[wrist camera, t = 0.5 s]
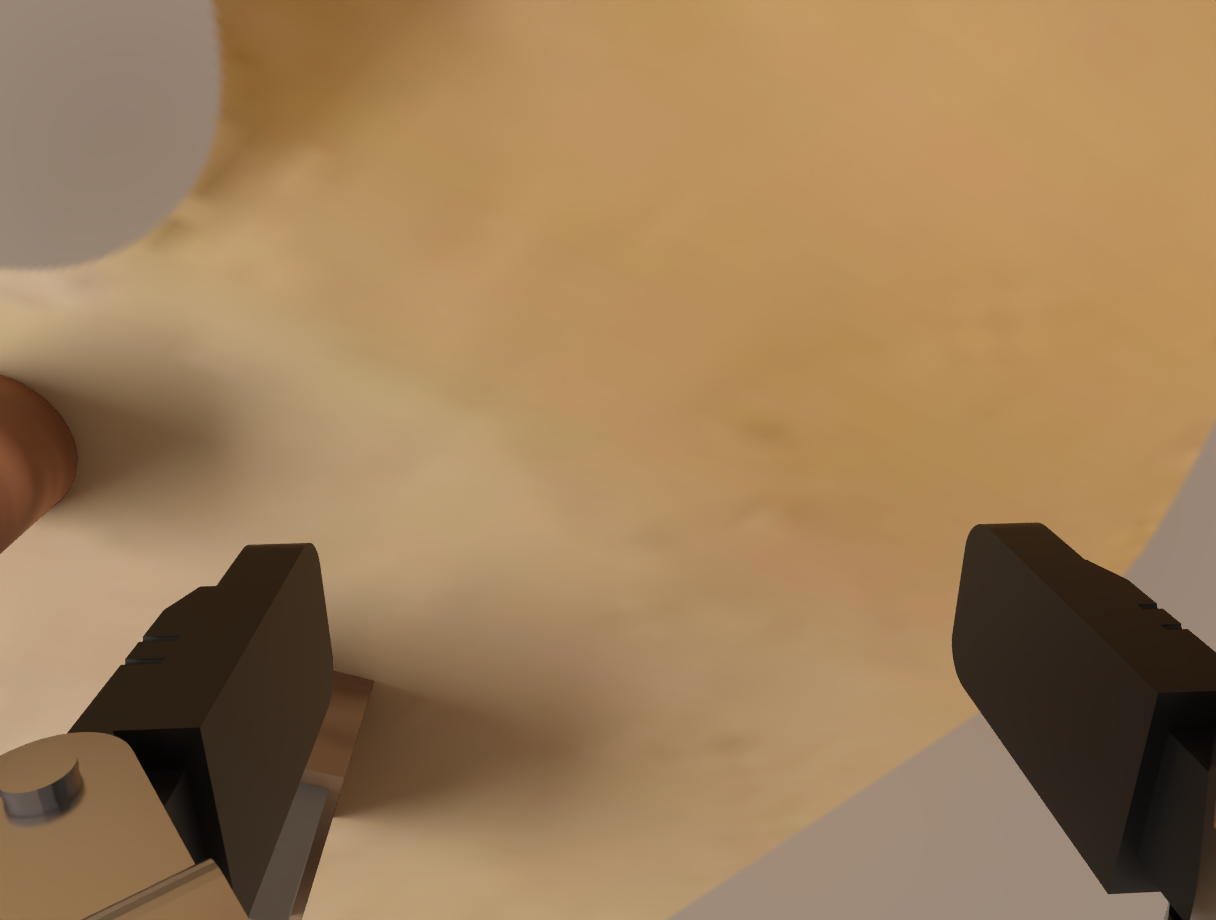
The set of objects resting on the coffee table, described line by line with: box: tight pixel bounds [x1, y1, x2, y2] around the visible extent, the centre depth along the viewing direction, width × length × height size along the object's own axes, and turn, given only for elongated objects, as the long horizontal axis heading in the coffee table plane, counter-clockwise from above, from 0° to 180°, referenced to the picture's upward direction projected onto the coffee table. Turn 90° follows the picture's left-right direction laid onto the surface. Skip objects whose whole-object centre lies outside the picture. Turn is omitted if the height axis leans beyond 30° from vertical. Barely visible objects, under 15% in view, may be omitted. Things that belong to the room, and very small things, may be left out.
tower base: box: [289, 671, 374, 920], centre depth 32 cm, size 7×7×5 cm
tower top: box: [248, 782, 329, 920], centre depth 27 cm, size 6×6×5 cm
